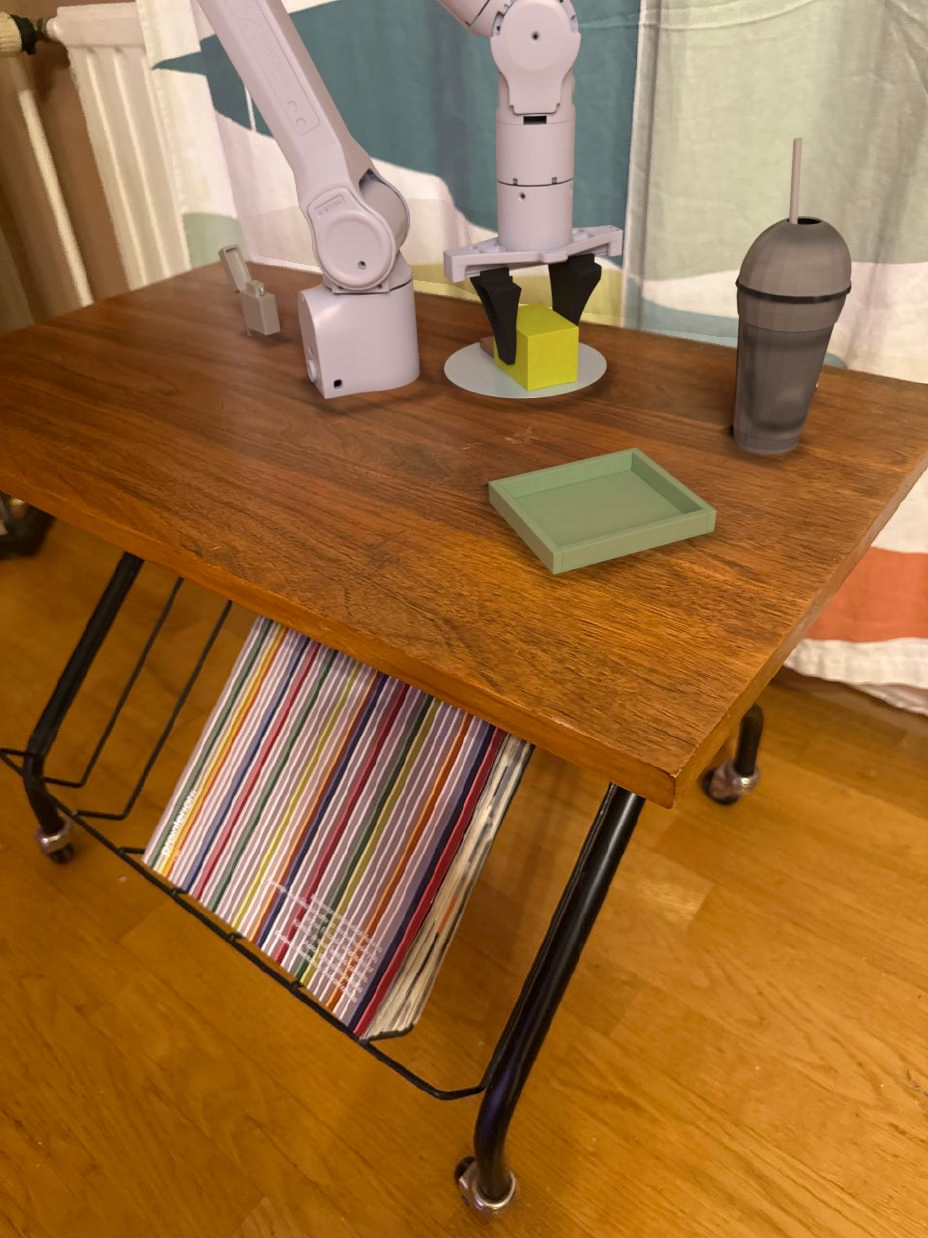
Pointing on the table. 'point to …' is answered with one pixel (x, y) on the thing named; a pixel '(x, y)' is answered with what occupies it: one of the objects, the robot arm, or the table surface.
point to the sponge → (543, 348)
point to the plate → (488, 378)
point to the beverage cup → (785, 323)
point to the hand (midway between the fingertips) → (534, 355)
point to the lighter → (250, 293)
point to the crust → (488, 345)
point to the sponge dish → (599, 509)
